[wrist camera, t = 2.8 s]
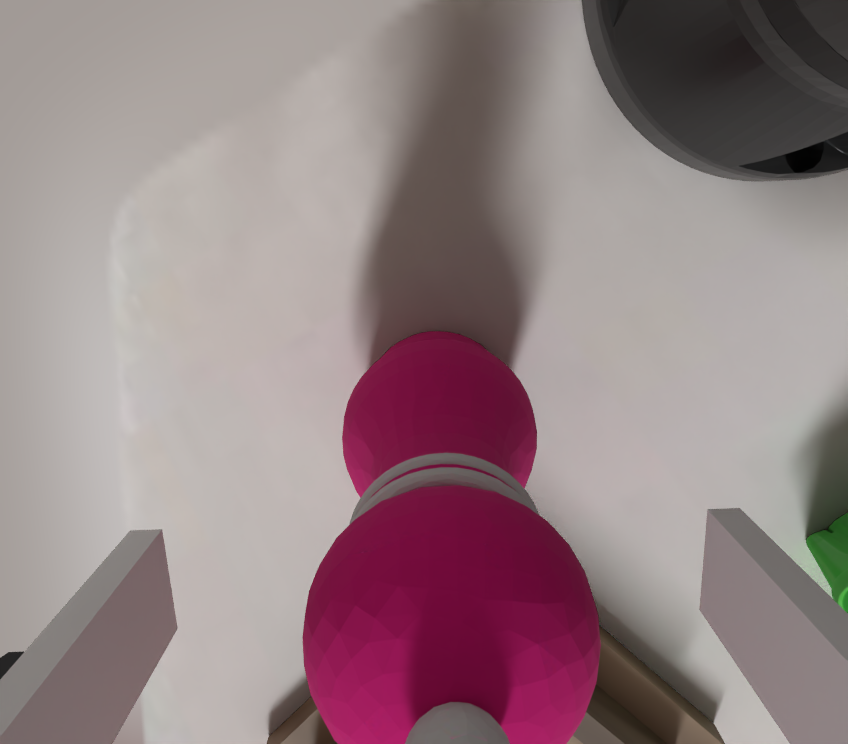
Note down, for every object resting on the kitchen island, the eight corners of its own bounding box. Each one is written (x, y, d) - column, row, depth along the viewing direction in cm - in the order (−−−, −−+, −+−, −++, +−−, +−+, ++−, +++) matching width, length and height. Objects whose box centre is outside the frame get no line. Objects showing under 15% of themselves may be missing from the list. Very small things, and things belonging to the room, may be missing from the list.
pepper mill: (351, 471, 30) (214, 984, 10) (358, 313, 28) (203, 580, 8) (510, 480, 30) (668, 1006, 10) (527, 324, 28) (757, 613, 9)
